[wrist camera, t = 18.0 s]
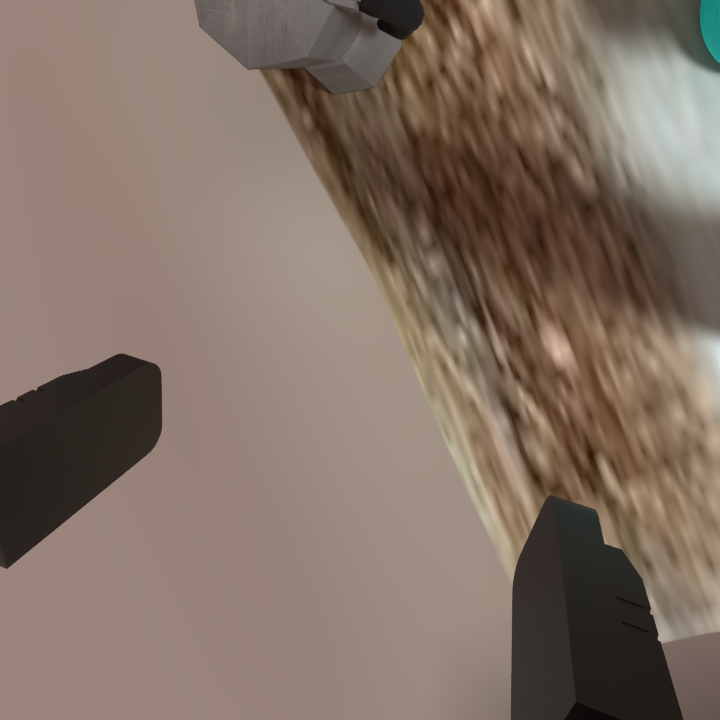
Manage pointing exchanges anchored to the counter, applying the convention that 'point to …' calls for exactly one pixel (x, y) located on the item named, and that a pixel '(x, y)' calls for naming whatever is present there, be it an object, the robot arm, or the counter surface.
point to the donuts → (711, 26)
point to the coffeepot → (314, 36)
